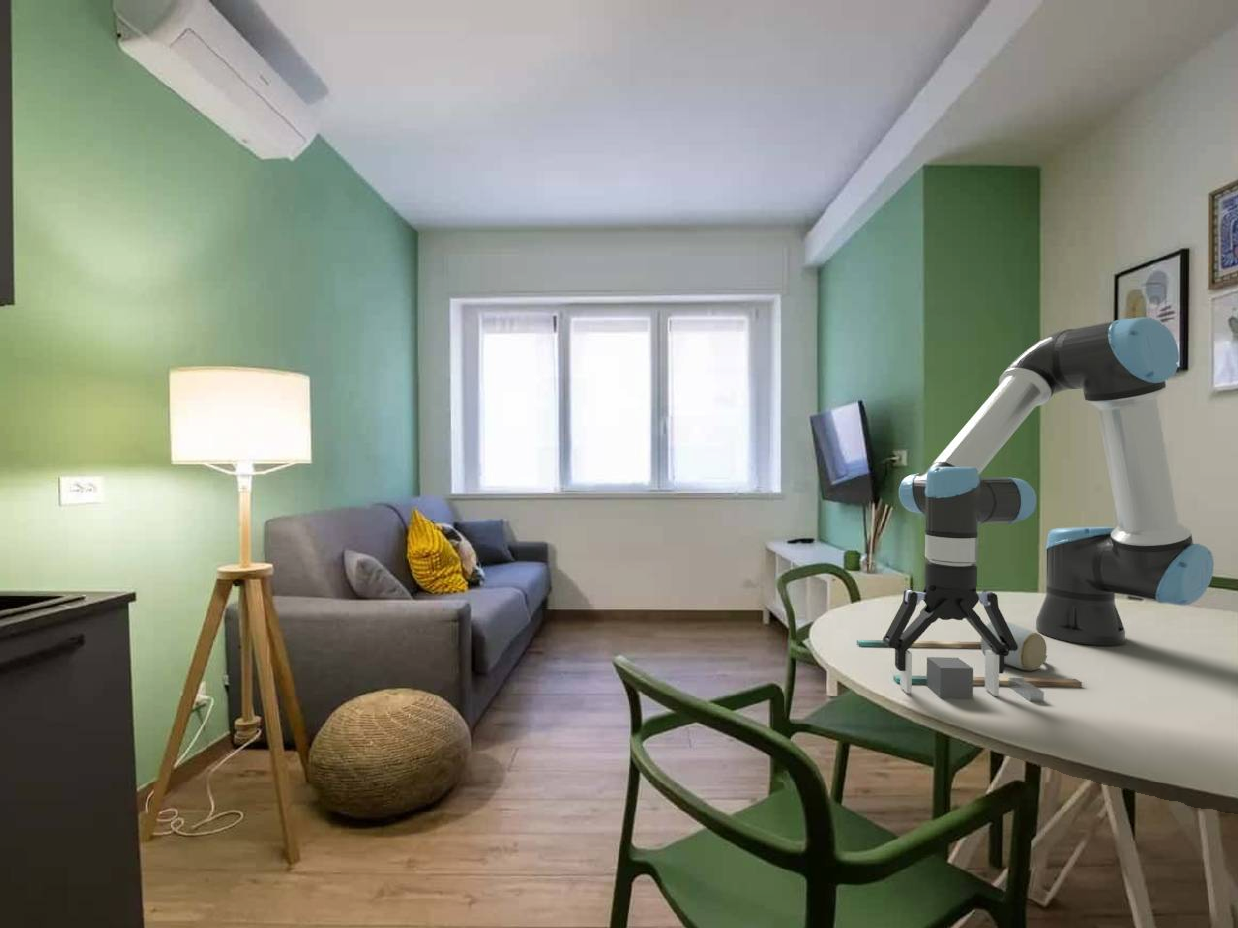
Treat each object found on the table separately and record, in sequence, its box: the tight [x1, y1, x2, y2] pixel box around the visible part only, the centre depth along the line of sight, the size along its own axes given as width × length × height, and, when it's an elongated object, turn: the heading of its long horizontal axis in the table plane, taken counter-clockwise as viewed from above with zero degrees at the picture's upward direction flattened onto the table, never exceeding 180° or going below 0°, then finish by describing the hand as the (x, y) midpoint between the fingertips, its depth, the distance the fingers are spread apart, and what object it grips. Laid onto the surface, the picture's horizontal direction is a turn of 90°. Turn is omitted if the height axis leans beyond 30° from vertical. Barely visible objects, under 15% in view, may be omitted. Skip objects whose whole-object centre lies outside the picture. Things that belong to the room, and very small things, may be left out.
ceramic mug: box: [980, 621, 1048, 672], centre depth 113 cm, size 11×8×8 cm
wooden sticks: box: [856, 639, 1083, 688], centre depth 113 cm, size 30×21×1 cm
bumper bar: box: [1008, 677, 1045, 703], centre depth 99 cm, size 2×6×2 cm, turn 176°
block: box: [926, 656, 974, 700], centre depth 100 cm, size 5×5×5 cm
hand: (948, 691), depth 100 cm, fingers open, 13 cm apart
